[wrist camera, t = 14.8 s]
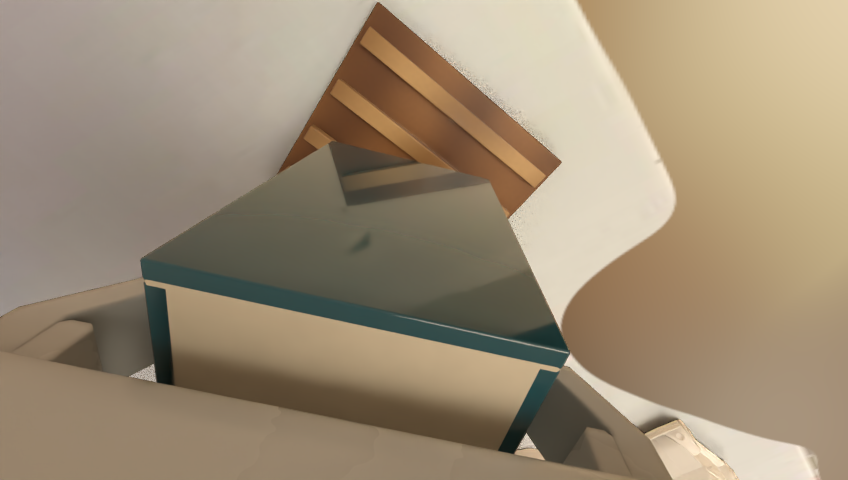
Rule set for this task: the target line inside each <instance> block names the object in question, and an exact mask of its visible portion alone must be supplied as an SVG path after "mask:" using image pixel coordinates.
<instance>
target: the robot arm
mask: <svg viewBox="0 0 848 480" xmlns="http://www.w3.org/2000/svg"><path fill="white" fill-rule="evenodd" d="M143 283H144V279H143V277H142V278H138V279H134V280H130V281H126V282H121V283H117V284H113V285H109V286H104V287H100V288H96V289H92V290H88V291H83V292H79V293H75V294H71V295H66V296H62V297H58V298H54V299H50V300H45V301H41V302H37V303H33V304H28V305H24V306H20V307H18V308H16V309H14V310H12V311H10V312H8V313H7V314H5V315H3V316H1V317H0V480H673V479H672V477H671V476H670V474H669V472H668V470H667V469H666V467H665V465H664V463H663V461H662V460H661V458H660V456H659V454H658V453H657V451H656V449H655V447H654V446H653V444H652V442H651V440H650V439H649V438H648V437H647V436H646V435H645V434H644V433H642V432H641V431H640V430H639V429H638V428H637V427H636V426H635V425H634V424H632V423H631V422H630V421H629V420H628V419H627V418H626V417H625V416H623V415H622V414H621V413H620V412H619V411H618V410H617V409H616V408H615V407H613V406H612V405H611V404H610V403H609V402H608V401H607V400H606V399H604V398H603V397H602V396H601V395H600V394H599V393H598V392H597V391H595V390H594V389H593V388H592V387H591V386H590V385H589V384H588V383H587V382H585V381H584V380H583V379H582V378H581V377H580V376H579V375H578V374H576V373H575V372H574V371H573V370H572V369H571V368H570V367H567V366H564V365H563V367H562V368H561V369H560V373H559V374H558V376H557V378H556V380H555V382H554V384H553V385H552V387H551V389H550V391H549V393H548V394H547V396H546V398H545V400H544V402H543V403H542V405H541V407H540V409H539V411H538V412H537V414H536V416H535V418H534V420H533V421H532V423H531V425H530V427H529V429H528V430H527V432H526V433H527V434H528V436H529V437H530V439H531V440H532V442H533V443H534V445H535V446H536V448H537V449H538V450H539V452H540V453H541V455H542V456H543V458H544V459H545V460H541V459H536V458H531V457H526V456H521V455H516V454H510V453H505V452H500V451H495V450H490V449H486V448H481V447H476V446H471V445H466V444H461V443H456V442H451V441H446V440H441V439H436V438H431V437H426V436H422V435H417V434H412V433H407V432H402V431H397V430H392V429H387V428H382V427H377V426H372V425H367V424H362V423H357V422H352V421H347V420H342V419H337V418H332V417H327V416H322V415H317V414H312V413H307V412H302V411H297V410H292V409H287V408H282V407H277V406H272V405H267V404H262V403H257V402H252V401H247V400H242V399H237V398H232V397H227V396H222V395H217V394H212V393H207V392H202V391H197V390H192V389H187V388H182V387H177V386H172V385H167V384H162V383H157V382H152V381H147V380H142V379H137V378H132V377H129V376H131V375H133V374H135V373H136V372H138V371H140V370H142V369H144V368H146V367H148V366H150V365H152V364H154V359H153V352H152V344H151V337H150V329H149V322H148V314H147V307H146V299H145V292H144V284H143Z"/></svg>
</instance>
